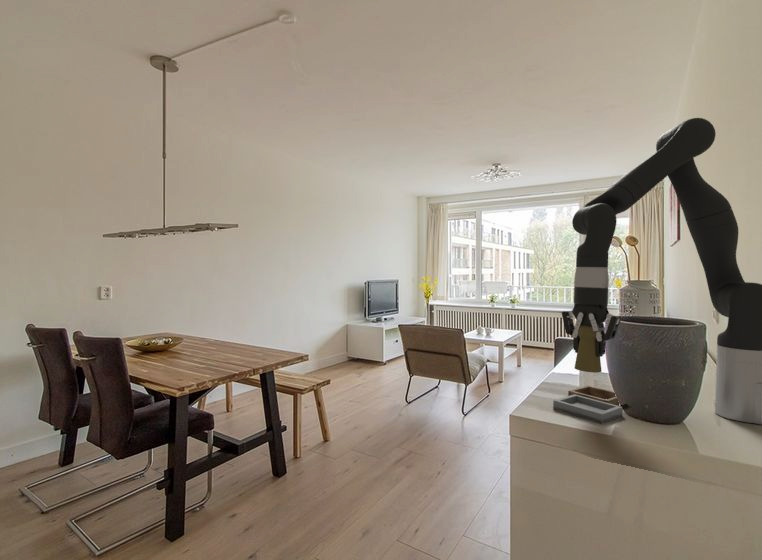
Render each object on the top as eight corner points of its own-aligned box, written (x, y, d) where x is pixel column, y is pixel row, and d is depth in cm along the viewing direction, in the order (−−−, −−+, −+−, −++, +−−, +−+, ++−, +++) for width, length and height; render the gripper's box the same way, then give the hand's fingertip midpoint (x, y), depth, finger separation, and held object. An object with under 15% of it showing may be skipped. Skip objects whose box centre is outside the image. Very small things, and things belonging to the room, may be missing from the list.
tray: (622, 416, 96) (622, 407, 96) (601, 423, 91) (602, 414, 91) (574, 402, 106) (574, 394, 106) (553, 408, 101) (553, 400, 101)
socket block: (626, 404, 106) (626, 394, 106) (607, 410, 100) (608, 401, 100) (587, 394, 115) (588, 385, 115) (568, 399, 109) (568, 390, 109)
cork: (606, 373, 96) (608, 327, 95) (581, 372, 96) (583, 326, 95) (593, 367, 102) (595, 324, 101) (570, 366, 102) (571, 323, 101)
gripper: (629, 287, 95) (626, 358, 95) (571, 285, 106) (569, 348, 107) (614, 287, 90) (611, 361, 91) (555, 284, 102) (553, 350, 102)
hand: (588, 354), depth 99 cm, fingers closed on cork, 4 cm apart
